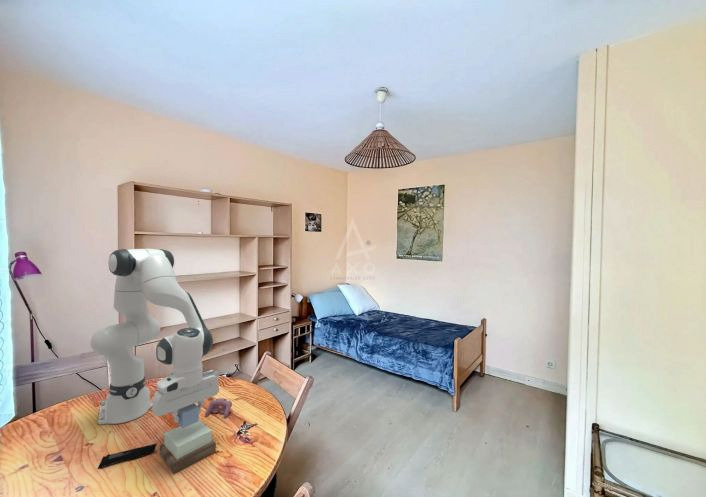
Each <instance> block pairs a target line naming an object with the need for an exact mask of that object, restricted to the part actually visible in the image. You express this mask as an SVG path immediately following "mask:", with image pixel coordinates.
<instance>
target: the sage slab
mask: <svg viewBox="0 0 706 497" xmlns="http://www.w3.org/2000/svg"><path fill="white" fill-rule="evenodd" d="M163 436H164V437H163V443H164V445H165V446H166V448H167V449H168V450H169V451H170V452H171V453H172V454H173V456H174V457H175V458H176V459H179V458H181V457H183V456H185V455H187V454H189V453H191V452H193V451H195V450H197V449H199V448H201V447H203V446H205V445H207V444H209V443H211V442H212V439H213V438H212V437H213V430H212V429H211V428H210V427H209V426H208V425H206V424H205V423H204V422H203V421H201V419H199V422H196V423H194V424H192V425H190V426H187V427H185V428H182V427H181V426H180V425H179V426H177V427H175V428H173V429H170V430H168V431H166V432H164V433H163Z"/></svg>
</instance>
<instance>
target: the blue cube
mask: <svg viewBox="0 0 706 497" xmlns="http://www.w3.org/2000/svg"><path fill="white" fill-rule="evenodd" d="M178 414H179V415H180V416H181V421H179V422H177V424H178V425H179V426H181V427H182V428H185V427H187V426H190V425H192V424H194V423H196V422H199V420H200V419H199V418H200V417H199V415H200V413H199V407H198V404H196V403H194V404H191V405H189V406H186V407H184V408H181V409H178V410H177V413H176V415H178Z"/></svg>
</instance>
